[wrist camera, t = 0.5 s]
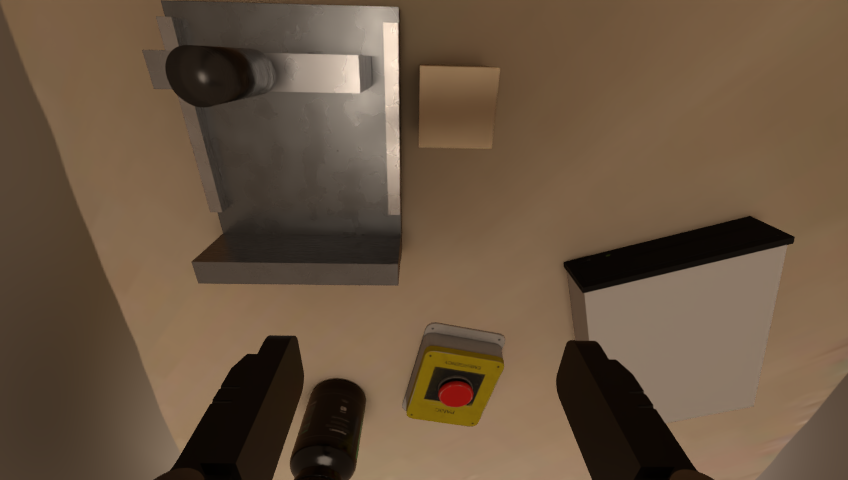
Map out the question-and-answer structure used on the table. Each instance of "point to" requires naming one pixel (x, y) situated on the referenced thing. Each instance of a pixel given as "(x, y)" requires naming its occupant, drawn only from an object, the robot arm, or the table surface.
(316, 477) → the supplement bottle
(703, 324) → the disc drive
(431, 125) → the maple block
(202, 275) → the press
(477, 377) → the emergency button
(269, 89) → the jaw
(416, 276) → the table surface
